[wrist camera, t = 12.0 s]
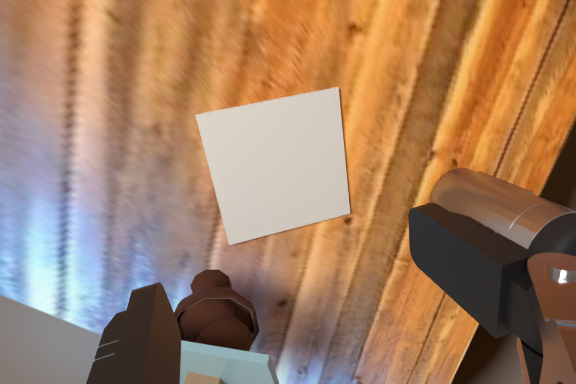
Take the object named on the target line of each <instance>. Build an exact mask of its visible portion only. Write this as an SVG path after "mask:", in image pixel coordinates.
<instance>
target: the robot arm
mask: <svg viewBox="0 0 576 384" xmlns="http://www.w3.org/2000/svg"><path fill="white" fill-rule="evenodd" d="M409 241H410V253H411V256H412V259H413V261H414V262H415V264H416V265H417V267H418V268H419V269H421V270H422V271H423V272H424V273H425V274H426V275H427V276H428V277H429V278H430V279H431V280H433V281H434V282H435V283H436V284H437V285H438V286H439V287H440V288H441V289H442V290H443V291H444V292H446V293H447V294H448V295H449V296H450V297H451V298H452V299H453V300H454V301H455V302H456V303H458V304H459V305H460V306H461V307H462V308H463V309H464V310H465V311H466V312H467V313H468V314H470V315H471V316H472V317H473V318H474V319H475V320H476V321H477V322H478V323H479V324H480V325H482V326H483V327H484V328H485V329H486V330H487V331H488V332H489V333H490V334H491V335H492V336H494V337H495V338H499V337H502V336H504V335H507V334H509V333H512V332H513V333H514V334H515V335H516V336H518V342H517V347H518V352H519V357H520V362H521V367H522V371H523V376H524V381H525V384H576V212H575V211H573V210H571V209H568V208H565V207H563V206H560V205H558V204H555V203H552V202H550V201H547V200H545V199H543V198H540V197H537V196H535V195H534V193H533V192H532V191H529V190H527V189H524V188H522V187H519V186H516V185H514V184H511V183H509V182H506V181H504V180H501V179H498V178H496V177H493V176H491V175H488V174H485V173H483V172H475V171H472V170H470V169H466V168H458V169H454V170H452V171H450V172H448V173H447V174H445V175H444V176H443V177H442V178H441V179H440V180H439V181H438V182H437V183H436V185H435V186H434V188H433V190H432V193H431V196H430V203H428V204H425V205H422V206H418V207H415V208H412V209H410V211H409ZM180 364H181V335H180V330H179V326H178V322H177V320H176V317H175V315H174V312H173V310H172V307H171V305H170V302H169V300H168V297H167V295H166V292H165V290H164V288H163V286H162V284H161V283H160V282H159V283H155V284H152V285H148V286H145V287H142V288H138V289H135V290H133V291H132V293H131V296H130V300H129V303H128V307H127V310H126V311H123V312H120V313H116V315H115V316H114V317H113V319H112V320H111V321H110V322H109V324H108V325H107V326H106V328H105V329H104V331H103V335H102V338H101V341H100V344H99V348H98V350H97V353H96V356H95V362H93V365H92V368H91V371H90V374H89V377H88V380H87V383H86V384H180Z"/></svg>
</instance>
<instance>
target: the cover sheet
mask: <svg viewBox="0 0 576 384" xmlns="http://www.w3.org/2000/svg"><path fill="white" fill-rule="evenodd" d="M180 384H279V381H278V379H277V376H276V373H275V370H274V367H273V364H272V361H271V358H270V355H267V354H261V353H254V352H248V351H242V350H236V349H230V348H224V347H218V346H212V345H206V344H200V343H194V342H188V341H182V340H181V364H180Z"/></svg>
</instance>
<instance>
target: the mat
mask: <svg viewBox="0 0 576 384" xmlns="http://www.w3.org/2000/svg"><path fill="white" fill-rule="evenodd" d="M196 119H197V123H198V127H199V130H200V134H201V138H202V142H203V146H204V150H205V154H206V157H207V161H208V165H209V169H210V173H211V177H212V181H213V185H214V188H215V192H216V196H217V200H218V204H219V208H220V212H221V215H222V219H223V223H224V227H225V231H226V235H227V239H228V243H229V245H232V244H236V243H240V242H244V241H247V240H251V239H255V238H259V237H263V236H266V235H270V234H274V233H278V232H282V231H285V230H289V229H293V228H297V227H301V226H304V225H308V224H312V223H316V222H320V221H323V220H327V219H331V218H335V217H339V216H342V215H346V214H350V205H349V194H348V183H347V173H346V162H345V151H344V141H343V130H342V119H341V108H340V98H339V87H334V88H329V89H324V90H319V91H314V92H309V93H303V94H298V95H293V96H288V97H283V98H278V99H273V100H267V101H262V102H257V103H252V104H247V105H242V106H237V107H231V108H226V109H221V110H216V111H211V112H206V113H201V114H196Z"/></svg>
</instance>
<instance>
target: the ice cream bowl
mask: <svg viewBox="0 0 576 384" xmlns="http://www.w3.org/2000/svg"><path fill="white" fill-rule="evenodd" d="M229 287H230V284H229V280H228V276H227V275H225V274H224V273H222V272H221V271H220V270H205V271H203V272H201V273H200V274H198V275H196V276H195V278H194V280H193V282H192V284H191V289H192V292H193V294H191V295H189V296H188V297H186V298H184V299H182V301H181V302H180V303H179V304H178V306H177V308H176V310H175V312H174V315H175V317H176V320H177V322H178V326H179V330H180V335H181V340H182V341H188V342H194V343H200V344H206V345H212V346H218V347H224V348H230V349H236V350H242V351H248V352H249V350H250V347H251V345H252V343H253V341H254V340H255V338H256V336H257V334H258V333H259V326H258V322H257V317H256V312H255V309H254V307H253V305H252V303H251V302H250V301H248V300H247V299H246V298H244V297H243V296H241V295H240V294H238V293H237V292H235V291H234V290H232V289H231V288H229Z"/></svg>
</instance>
